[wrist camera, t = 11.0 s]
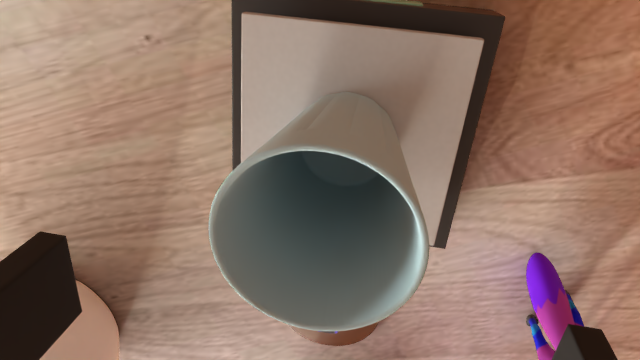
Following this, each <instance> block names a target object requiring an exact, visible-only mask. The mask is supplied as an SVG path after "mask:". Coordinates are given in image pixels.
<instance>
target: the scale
mask: <svg viewBox="0 0 640 360" xmlns="http://www.w3.org/2000/svg"><path fill="white" fill-rule="evenodd" d="M504 21H505V16H503V15H501V14H499V13H497V12H495V11H493V10H485V9H475V8H465V7H456V6H446V5H437V4H427V3H422V2H417V1H408V0H232V162H233V170H234V169H235V168H236V167H237V166H238V165H240V164H241V163H242V162H243V161H244V160H246V159H247V158H248V157H249V156H250V155H251V154H253V153H254V152H255V151H256V150H257V149H259V148H260V147H261V146H263V145H264V144H265V143H266V142H267V141H269V140H270V139H271V138H272V137H273V136H274V135H276V134H277V133H278V132H279V131H280V130H281V129H283V128H284V127H285V126H286V125H287V124H289V123H290V122H291V121H292V120H293V119H294V118H296V117H297V116H298V115H299V114H300V113H301V112H303V111H304V110H305V109H306V108H308V107H309V106H310V105H311V104H313V103H315V102H316V101H318V100H319V99H320V98H322V97H324V96H326V95H329V94H335V93H341V92H352V93H356V94H359V95H362V96H366V97H368V98H370V99H372V100H373V101H375V102H376V103H377V104H378V105H379V106H380V107H382V108H383V109H384V110H385V111H386V112H387V114H388V115H389V117H390V119H391V121H392V124H393V126H394V129H395V131H396V134H397V137H398V140H399V143H400V146H401V149H402V152H403V156H404V159H405V162H406V165H407V168H408V171H409V174H410V178H411V181H412V184H413V187H414V189H415V192H416V195H417V197H418V200H419V204H420V207H421V210H422V213H423V216H424V219H425V222H426V226H427V230H428V236H429V246H431V247H437V248H444V249H445V247H446V244H447V240H448V236H449V232H450V228H451V224H452V220H453V217H454V213H455V209H456V205H457V201H458V197H459V194H460V190H461V186H462V182H463V178H464V174H465V171H466V167H467V163H468V159H469V155H470V151H471V147H472V144H473V140H474V136H475V132H476V128H477V124H478V121H479V117H480V113H481V109H482V105H483V101H484V97H485V94H486V90H487V86H488V82H489V78H490V74H491V71H492V67H493V63H494V59H495V55H496V51H497V48H498V44H499V40H500V36H501V32H502V28H503V24H504Z"/></svg>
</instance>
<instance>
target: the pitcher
mask: <svg viewBox="0 0 640 360" xmlns="http://www.w3.org/2000/svg"><path fill="white" fill-rule="evenodd" d="M76 285H77V290H78V294H79V299H80V303H81V308H82V313H81V314H80V315H79V316H78V317H77V318H76V319H75V320H74V322H73V323H72V324H71V325H70V326H69V327H68V328H67V329H66V330H65V332H64V333H63V334H62V335H61V336H60V337H59V338H58V339H57V340H56V342H55V343H54V344H53V345H52V346H51V347H50V348H49V349H48V351H47V352H46V353H45V354H44V355H43V356H42V357H41V358H40V359H39V360H119V332H118V326H117V324H116V321H115V319H114V317H113V315H112V313H111V311H110V310H109V308H108V307H107V305H106V304H105V303H104V302H103V301H102V300H101V299H100V298H99V297H98V296H97V295H96V294H95V293H94V292H93V291H92V290H91V289H90V288H88V287H87V286H86V285H84V284H82V283H81V282H79V281H77V280H76Z"/></svg>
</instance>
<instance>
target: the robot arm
mask: <svg viewBox="0 0 640 360" xmlns="http://www.w3.org/2000/svg"><path fill="white" fill-rule="evenodd" d="M81 313H82V308H81V303H80V299H79V294H78V290H77V285H76V280H75V276H74V271H73V267H72V262H71V258H70V253H69V249H68V244H67V239H66V236H63V235H57V234H51V233H45V232H39V233H37V234H36V235H35V236H34V237H32V238H31V239H30V240H28V241H27V242H26V243H24V244H23V245H22V246H20V247H19V248H18V249H17V250H15V251H14V252H13V253H11V254H10V255H9V256H7V257H6V258H5V259H3V260H2V261H1V262H0V360H39V359H40V358H41V357H42V356H43V355H44V354H45V353H46V352H47V351H48V349H49V348H50V347H51V346H52V345H53V344H54V343H55V342H56V340H57V339H58V338H59V337H60V336H61V335H62V334H63V333H64V332H65V330H66V329H67V328H68V327H69V326H70V325H71V324H72V323H73V322H74V320H75V319H76V318H77V317H78V316H79V315H80V314H81ZM552 360H617V358H616V356H615V354H614V352H613V350H612V348H611V346H610V345H609V343H608V341H607V339H606V337H605V335H604V333H603V331H602V330H601V329H595V328H589V327H584V326H578V325H572V324H568V325H567V327H566V330H565V332H564V334H563V336H562V338H561V340H560V342H559V345H558V347H557V349H556V351H555V353H554V355H553V357H552Z"/></svg>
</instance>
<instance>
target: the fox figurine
mask: <svg viewBox="0 0 640 360" xmlns="http://www.w3.org/2000/svg"><path fill="white" fill-rule="evenodd" d="M526 278H527V286H528V290H529V295H530V298H531V302H532V305H533V308H534V310H535V313H536V315H537V317H538V319H539V321H540V323H541V325H542V327H543V329H544V331H545V333H546V334H547V336H548V338H549V340H550V341H551V343H552V345H553V346H554V348H555V350H556V349H557V347H558V345H559V342H560V340H561V338H562V336H563V334H564V332H565V330H566V327H567V325H568V324H572V325H578V326H584V324H583V322H582V319H581V316H580V313H579V312H578V310H577V308H576V307H575V305H574V303H573V301H572V299H571V297H570V295H569V293H568V292H567V291H566V290H564V287H563V285H562V282H561V280H560V278H559V276H558V274H557V272H556V270H555V268H554V266H553V265H552V263H551V262H550V261H549V260H548V259H547V258H546V257H545V256H544V255H543V254H541V253H534V254H533V255H532V256H531V257H530V259H529V261H528V264H527V270H526ZM526 323H527V325H528V326H531V329H532V335H533V338H534V341H535V345H536V349H537V354H538V359H539V360H552V357H553V355H554V353H555V351H554V350H553V349H552V348H551V347H550V346H549V345H548V343H547V342H546V340H545V339H544V337H543V335H542V332H541V329H540V328H539V326H538V325H537V324H538V320H537V319H536V317H535V316H534V315H532V314H530V315H528V316H527V321H526Z"/></svg>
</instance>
